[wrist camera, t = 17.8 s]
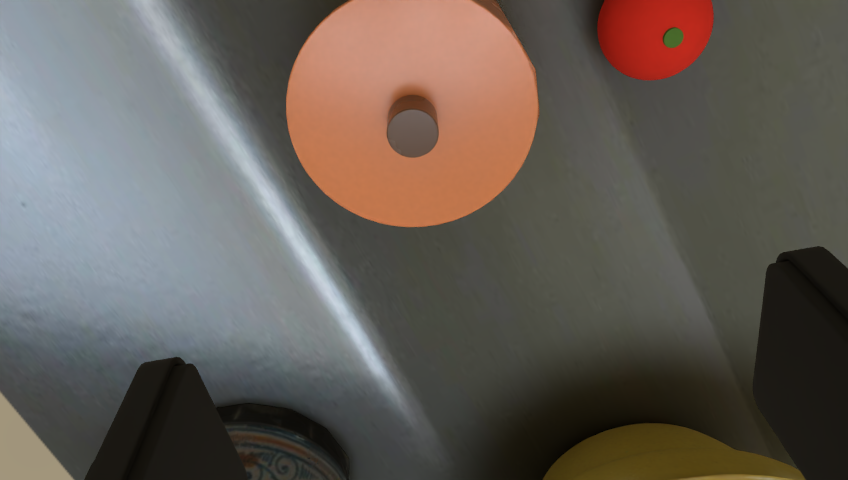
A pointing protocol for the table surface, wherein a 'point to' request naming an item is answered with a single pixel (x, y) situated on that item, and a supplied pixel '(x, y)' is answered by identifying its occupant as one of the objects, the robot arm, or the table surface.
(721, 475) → the planter bowl
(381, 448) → the table surface
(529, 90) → the pot lid
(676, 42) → the tomato
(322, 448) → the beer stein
